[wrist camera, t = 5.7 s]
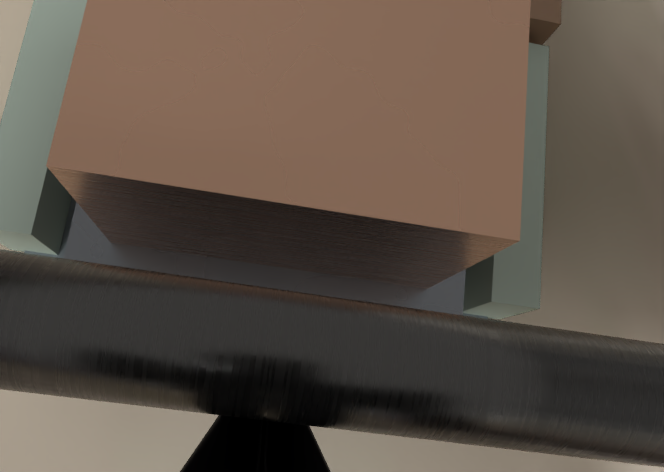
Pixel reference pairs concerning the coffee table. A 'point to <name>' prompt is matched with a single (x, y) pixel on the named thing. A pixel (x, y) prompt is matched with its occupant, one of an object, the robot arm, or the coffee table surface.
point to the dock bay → (58, 205)
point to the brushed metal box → (309, 230)
